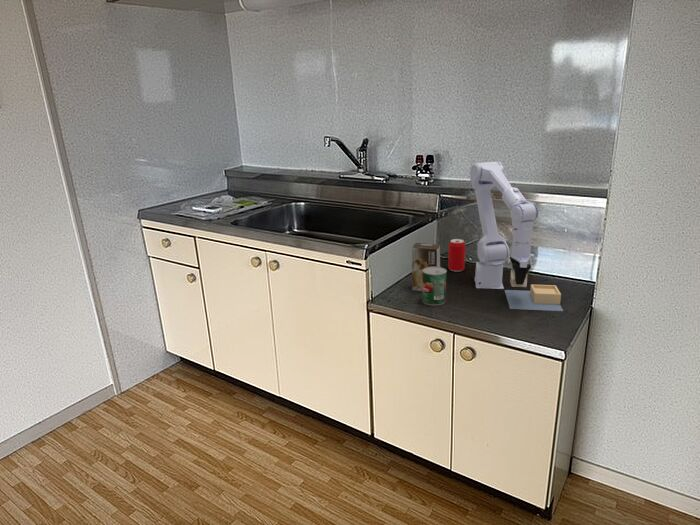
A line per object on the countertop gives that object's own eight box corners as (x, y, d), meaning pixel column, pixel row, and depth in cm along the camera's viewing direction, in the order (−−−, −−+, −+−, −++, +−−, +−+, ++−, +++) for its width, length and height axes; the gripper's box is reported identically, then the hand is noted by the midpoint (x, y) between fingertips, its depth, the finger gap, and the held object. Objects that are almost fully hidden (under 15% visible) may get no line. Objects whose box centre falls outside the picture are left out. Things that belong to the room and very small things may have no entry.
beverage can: (463, 267, 195) (464, 238, 191) (465, 272, 189) (466, 242, 185) (447, 267, 196) (448, 238, 192) (448, 272, 190) (449, 243, 186)
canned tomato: (417, 301, 164) (417, 270, 161) (431, 294, 170) (431, 264, 166) (436, 307, 159) (437, 276, 156) (450, 300, 164) (451, 269, 161)
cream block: (511, 286, 158) (512, 273, 156) (510, 281, 162) (511, 268, 160) (526, 287, 157) (527, 273, 155) (524, 282, 161) (525, 269, 159)
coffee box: (440, 286, 176) (441, 244, 171) (436, 293, 171) (437, 249, 165) (415, 284, 180) (416, 242, 174) (411, 290, 174) (411, 247, 169)
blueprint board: (509, 310, 155) (510, 298, 154) (504, 291, 170) (505, 280, 169) (563, 312, 152) (564, 300, 151) (552, 293, 167) (554, 282, 166)
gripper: (539, 248, 147) (535, 290, 151) (531, 235, 161) (527, 273, 165) (514, 247, 148) (511, 289, 153) (509, 234, 162) (506, 273, 166)
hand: (518, 281), depth 159 cm, fingers closed on cream block, 4 cm apart
